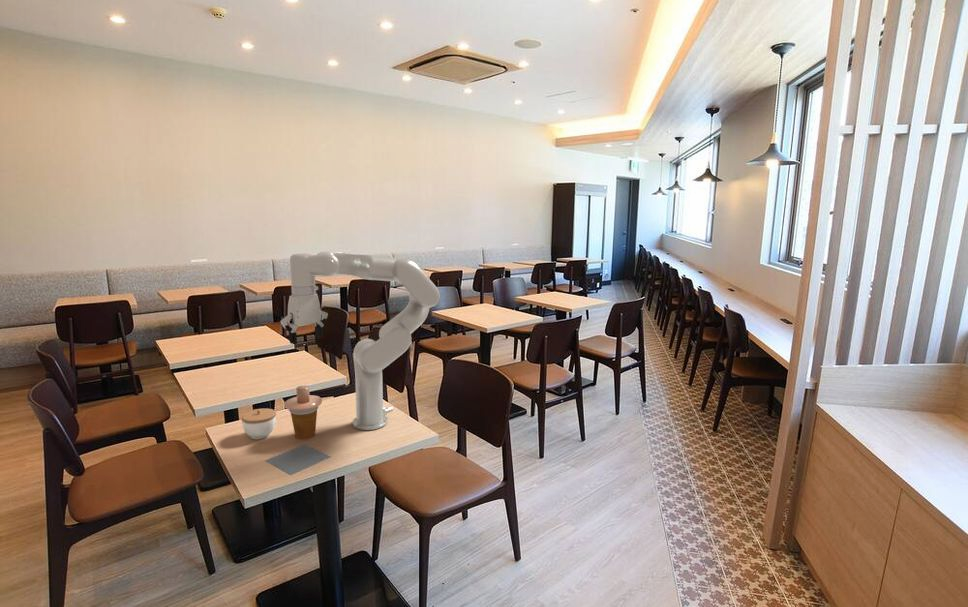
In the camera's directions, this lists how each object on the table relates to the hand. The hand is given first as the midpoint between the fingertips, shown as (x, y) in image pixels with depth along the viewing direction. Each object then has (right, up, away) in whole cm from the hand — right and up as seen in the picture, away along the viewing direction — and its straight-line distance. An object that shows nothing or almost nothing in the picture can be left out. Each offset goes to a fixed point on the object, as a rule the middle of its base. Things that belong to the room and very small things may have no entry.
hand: (306, 340), depth 166 cm
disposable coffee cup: (-1, -34, +3) cm, 34 cm away
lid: (-1, -22, +1) cm, 22 cm away
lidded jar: (-17, -33, +3) cm, 38 cm away
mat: (+2, -36, -13) cm, 39 cm away
